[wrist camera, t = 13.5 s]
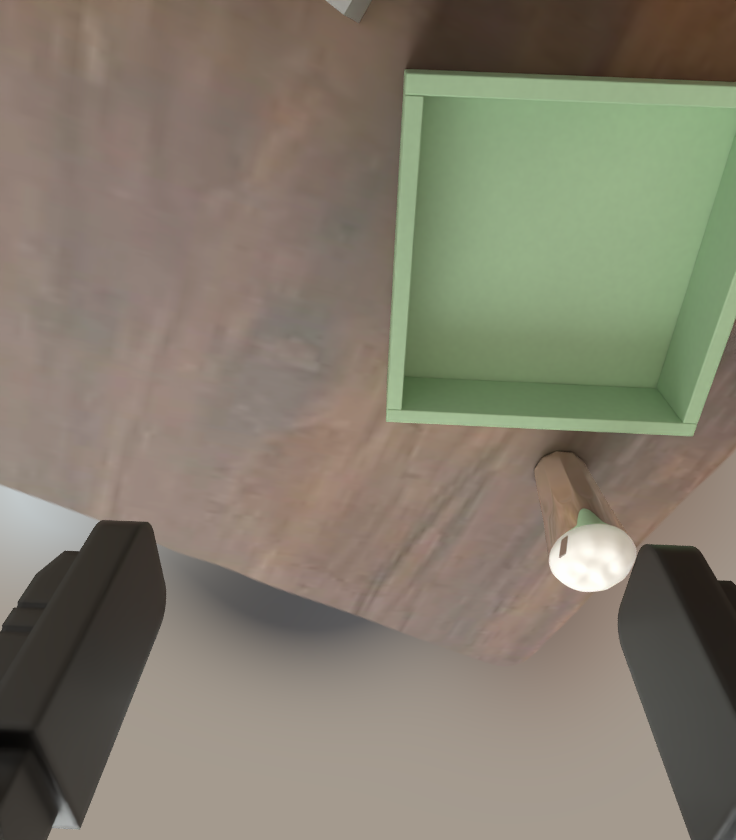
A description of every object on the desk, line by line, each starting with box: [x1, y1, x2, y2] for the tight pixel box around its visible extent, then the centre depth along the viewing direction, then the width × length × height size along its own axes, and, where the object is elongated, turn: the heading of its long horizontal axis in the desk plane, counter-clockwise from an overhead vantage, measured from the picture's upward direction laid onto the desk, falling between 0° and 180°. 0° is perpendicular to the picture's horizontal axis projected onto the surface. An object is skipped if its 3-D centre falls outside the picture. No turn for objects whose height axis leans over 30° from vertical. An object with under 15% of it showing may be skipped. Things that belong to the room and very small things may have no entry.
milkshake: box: [534, 451, 636, 592], centre depth 36 cm, size 4×5×10 cm
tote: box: [386, 69, 736, 436], centre depth 31 cm, size 17×17×5 cm
